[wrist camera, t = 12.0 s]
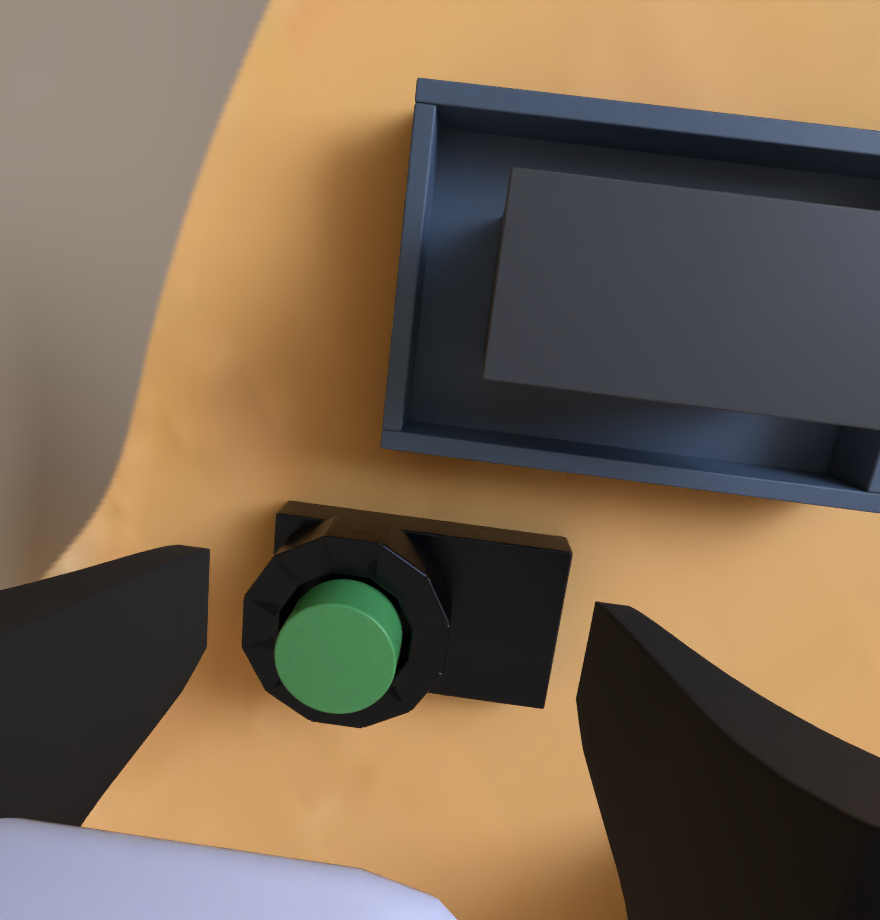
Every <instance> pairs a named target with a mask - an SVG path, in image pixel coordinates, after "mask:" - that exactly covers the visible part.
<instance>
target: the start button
mask: <svg viewBox="0 0 880 920" xmlns="http://www.w3.org/2000/svg"><path fill="white" fill-rule="evenodd" d="M401 643H402V625H401V621H400V618H399V615H398V613H397V611H396V609H395V607H394V606H393V604H392V603H391V602H390V600H389V599H388V598H387V597H386V596H385V595H384V594H382V593H381V592H380V591H379V590H377V589H375V588H374V587H372V586H370V585H368V584H366V583H363V582H360V581H355V580H348V579H337V580H331V581H327V582H323V583H321V584H318V585H316V586H314V587H313V588H311V589H310V590H308V591H307V592H306V593H305V594H304V595H303V596H302V597H301V598H300V599H299V601H298V602H297V604H296V605H295V607H294V609H293V610H292V612H291V614H290V615H289V617H288V619H287V620H286V622H285V623H284V625H283V627H282V628H281V630H280V632H279V634H278V636H277V640H276V643H275V649H274V659H275V665H276V669H277V673H278V675H279V677H280V679H281V681H282V683H283V684H284V686H285V687H286V689H287V690H288V691H289V692H290V693H291V694H292V695H293V696H294V697H295V698H296V699H298V700H299V701H300V702H302V703H303V704H305V705H307V706H309V707H311V708H313V709H315V710H319V711H322V712H326V713H334V714H346V713H352V712H356V711H360V710H362V709H365V708H367V707H369V706H370V705H372V704H374V703H375V702H376V701H377V700H379V699H380V698H381V697H382V696H383V695H384V694H385V693H386V691H387V690H388V688H389V687H390V685H391V683H392V681H393V678H394V675H395V671H396V666H397V662H398V657H399V653H400V648H401Z"/></svg>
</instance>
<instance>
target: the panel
mask: <svg viewBox="0 0 880 920" xmlns="http://www.w3.org/2000/svg"><path fill="white" fill-rule="evenodd" d="M572 555H573V554H572V551H571V548H570V546H569V544H568V541H567V539H566V538H565V537H559V536H552V535H544V534H537V533H529V532H522V531H514V530H506V529H499V528H491V527H484V526H476V525H469V524H461V523H454V522H446V521H439V520H431V519H424V518H416V517H409V516H401V515H394V514H386V513H379V512H371V511H364V510H356V509H349V508H341V507H333V506H326V505H318V504H311V503H303V502H296V501H288V502H287V503H286V504H285V505H284V506H283V507H282V508H281V509H280V510H279V511H278V512H277V514H276V522H275V539H274V556H273V557H272V559H271V560H270V561H269V563H268V564H267V565H266V567H265V568H264V570H263V571H262V572H261V574H260V575H259V576H258V578H257V579H256V580H255V582H254V583H253V584H252V586H251V587H250V589H249V590H248V591H247V593H246V594H245V597H244V604H243V625H242V649H243V651H244V652H245V654H246V656H247V658H248V660H249V662H250V663H251V665H252V667H253V669H254V671H255V673H256V675H257V676H258V678H259V680H260V682H261V684H262V686H263V687H264V689H265V691H267V692H268V693H269V694H271V695H272V696H274V697H275V698H277V699H278V700H280V701H281V702H283V703H284V704H285V705H287V706H288V707H290V708H291V709H293V710H294V711H296V712H297V713H299V714H300V715H302V716H303V717H305V718H306V719H308V720H311V721H312V722H319V723H326V724H333V725H340V726H348V727H355V728H362V727H367V726H370V725H373V724H376V723H379V722H382V721H385V720H388V719H390V718H393V717H396V716H399V715H402V714H405V713H408V712H409V711H410V710H413V709H414V707H415V706H416V705H417V704H418V703H419V702H420V701H421V699H422V698H423V697H424V696H425V695H426V694H427V693H432V694H440V695H447V696H454V697H461V698H468V699H475V700H483V701H490V702H497V703H504V704H511V705H518V706H525V707H533V708H540V709H543V708H544V706H545V700H546V695H547V690H548V684H549V679H550V673H551V668H552V663H553V657H554V652H555V646H556V641H557V636H558V630H559V625H560V620H561V614H562V609H563V603H564V598H565V593H566V587H567V582H568V576H569V571H570V566H571V560H572ZM337 579H348V580H355V581H360V582H363V583H366V584H368V585H370V586H372V587H374V588H375V589H377V590H379V591H380V592H381V593H382V594H384V595H385V596H386V597H387V598H388V599H389V600H390V602H391V603H392V604H393V606H394V607H395V609H396V611H397V613H398V615H399V618H400V621H401V625H402V643H401V648H400V653H399V657H398V662H397V666H396V671H395V675H394V678H393V681H392V683H391V685H390V687H389V688H388V690H387V691H386V693H385V694H384V695H383V696H382V697H381V698H380V699H379V700H377V701H376V702H375V703H374V704H372V705H370V706H369V707H367V708H365V709H362V710H360V711H356V712H352V713H346V714H334V713H326V712H322V711H319V710H315V709H313V708H311V707H309V706H307V705H305V704H303V703H302V702H300V701H299V700H298V699H296V698H295V697H294V696H293V695H292V694H291V693H290V692H289V691H288V690H287V689H286V687H285V686H284V684H283V683H282V681H281V679H280V677H279V675H278V673H277V669H276V665H275V659H274V649H275V643H276V640H277V636H278V634H279V632H280V630H281V628H282V627H283V625H284V623H285V622H286V620H287V619H288V617H289V615H290V614H291V612H292V610H293V609H294V607H295V605H296V604H297V602H298V601H299V599H300V598H301V597H302V596H303V595H304V594H305V593H306V592H307V591H308V590H310V589H311V588H313V587H314V586H316V585H318V584H321V583H323V582H327V581H331V580H337Z"/></svg>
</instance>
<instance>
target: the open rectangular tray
mask: <svg viewBox="0 0 880 920" xmlns="http://www.w3.org/2000/svg"><path fill="white" fill-rule="evenodd" d="M415 102H416V104H415V106H414V115H413V125H412V135H411V145H410V155H409V165H408V175H407V185H406V195H405V205H404V215H403V225H402V235H401V245H400V255H399V265H398V275H397V285H396V295H395V305H394V315H393V325H392V335H391V345H390V355H389V365H388V375H387V385H386V395H385V405H384V415H383V425H382V427H383V430H382V434H381V444H380V447H381V448H382V449H390V450H398V451H405V452H413V453H421V454H428V455H436V456H444V457H451V458H459V459H467V460H474V461H482V462H490V463H497V464H505V465H513V466H520V467H528V468H536V469H543V470H551V471H559V472H566V473H574V474H582V475H589V476H597V477H605V478H612V479H620V480H628V481H635V482H643V483H651V484H658V485H666V486H674V487H681V488H689V489H697V490H704V491H712V492H720V493H727V494H735V495H743V496H750V497H758V498H766V499H773V500H781V501H789V502H796V503H804V504H812V505H819V506H827V507H835V508H842V509H850V510H858V511H865V512H873V513H880V430H873V429H866V428H858V427H850V426H842V425H834V424H827V423H819V422H811V421H803V420H795V419H788V418H780V417H772V416H764V415H756V414H748V413H741V412H733V411H725V410H717V409H709V408H702V407H694V406H686V405H678V404H670V403H662V402H655V401H647V400H639V399H631V398H623V397H616V396H608V395H600V394H592V393H584V392H576V391H569V390H561V389H553V388H545V387H537V386H530V385H522V384H514V383H506V382H498V381H490V380H484V379H483V378H482V369H483V362H484V358H483V353H484V346H485V339H486V331H487V324H488V317H489V309H490V302H491V295H492V288H493V280H494V273H495V266H496V258H497V251H498V244H499V237H500V229H501V222H502V216H503V213H504V209H505V202H506V195H507V187H508V180H509V175H510V171H511V168H512V167H517V168H526V169H534V170H542V171H551V172H559V173H567V174H576V175H584V176H593V177H601V178H609V179H618V180H626V181H634V182H643V183H651V184H659V185H668V186H676V187H685V188H693V189H701V190H710V191H718V192H726V193H735V194H743V195H751V196H760V197H768V198H776V199H785V200H793V201H802V202H810V203H818V204H827V205H835V206H843V207H852V208H860V209H868V210H877V211H880V131H875V130H866V129H857V128H849V127H840V126H831V125H823V124H814V123H806V122H797V121H788V120H780V119H771V118H762V117H754V116H745V115H736V114H728V113H719V112H711V111H702V110H693V109H685V108H676V107H667V106H659V105H650V104H642V103H633V102H624V101H616V100H607V99H598V98H590V97H581V96H572V95H564V94H555V93H547V92H538V91H529V90H521V89H512V88H503V87H495V86H486V85H478V84H469V83H460V82H452V81H443V80H434V79H426V78H418V79H417V84H416V94H415Z"/></svg>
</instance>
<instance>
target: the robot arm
mask: <svg viewBox="0 0 880 920" xmlns="http://www.w3.org/2000/svg"><path fill="white" fill-rule="evenodd" d="M209 563H210V549H206V548H199V547H191V546H184V545H171V546H165V547H160V548H156V549H152V550H148V551H144V552H140V553H137V554H133V555H129V556H126V557H122V558H119V559H116V560H112V561H109V562H105V563H102V564H98V565H95V566H92V567H88V568H85V569H81V570H78V571H74V572H70V573H66V574H63V575H59V576H55V577H51V578H47V579H44V580H40V581H36V582H32V583H28V584H24V585H21V586H17V587H12V588H8V589H4V590H0V920H457V919H456V918H455V917H454V916H453V915H452V913H451V912H450V911H449V910H448V909H447V908H446V907H445V906H444V905H443V904H442V903H441V902H440V901H439V899H437V898H436V897H434V896H432V895H430V894H428V893H426V892H423V891H420V890H418V889H415V888H412V887H410V886H407V885H404V884H402V883H399V882H396V881H394V880H391V879H388V878H386V877H383V876H380V875H378V874H375V873H372V872H370V871H367V870H364V869H362V868H356V867H349V866H342V865H336V864H329V863H322V862H315V861H309V860H302V859H295V858H288V857H282V856H275V855H268V854H261V853H254V852H248V851H241V850H234V849H227V848H221V847H214V846H207V845H200V844H193V843H187V842H180V841H173V840H166V839H160V838H153V837H146V836H139V835H133V834H126V833H119V832H112V831H105V830H99V829H92V828H85V827H81V825H82V823H83V822H84V820H85V819H86V818H87V816H88V815H89V813H90V812H91V811H92V809H93V808H94V806H95V805H96V804H97V802H98V801H99V799H100V798H101V796H102V795H103V794H104V793H105V791H106V790H107V789H108V787H109V786H110V785H111V783H112V782H113V781H114V780H115V778H116V777H117V776H118V774H119V773H120V772H121V771H122V769H123V768H124V767H125V765H126V764H127V763H128V762H129V760H130V759H131V758H132V756H133V755H134V754H135V753H136V751H137V750H138V749H139V747H140V746H141V745H142V744H143V742H144V741H145V740H146V738H147V737H148V736H149V734H150V733H151V732H152V731H153V729H154V728H155V727H156V725H157V724H158V723H159V721H160V720H161V719H162V718H163V716H164V715H165V714H166V712H167V711H168V710H169V708H170V707H171V706H172V704H173V703H174V702H175V700H176V699H177V698H178V696H179V695H180V694H181V692H182V691H183V689H184V687H185V685H186V684H187V682H188V680H189V679H190V677H191V675H192V673H193V672H194V670H195V668H196V666H197V664H198V663H199V661H200V659H201V657H202V655H203V653H204V651H205V650H206V648H207V623H208V593H209ZM576 703H577V711H578V719H579V727H580V733H581V740H582V746H583V751H584V755H585V759H586V763H587V766H588V770H589V773H590V777H591V780H592V784H593V788H594V791H595V795H596V798H597V802H598V805H599V809H600V812H601V816H602V819H603V823H604V826H605V830H606V833H607V837H608V840H609V844H610V847H611V850H612V854H613V857H614V861H615V864H616V868H617V872H618V876H619V880H620V884H621V888H622V892H623V896H624V901H625V906H626V911H627V917H628V920H880V757H877V756H875V755H873V754H871V753H869V752H867V751H864V750H862V749H860V748H858V747H856V746H854V745H852V744H849V743H847V742H845V741H843V740H841V739H839V738H837V737H835V736H833V735H831V734H829V733H827V732H825V731H823V730H821V729H819V728H817V727H815V726H814V725H812V724H810V723H808V722H806V721H805V720H803V719H801V718H799V717H797V716H796V715H794V714H792V713H790V712H788V711H786V710H785V709H783V708H781V707H779V706H777V705H776V704H774V703H772V702H771V701H769V700H767V699H766V698H764V697H762V696H761V695H759V694H757V693H756V692H754V691H753V690H751V689H750V688H748V687H747V686H745V685H744V684H742V683H740V682H739V681H737V680H736V679H734V678H733V677H731V676H730V675H728V674H727V673H725V672H724V671H722V670H721V669H719V668H718V667H716V666H715V665H713V664H712V663H710V662H709V661H708V660H706V659H705V658H703V657H702V656H701V655H699V654H698V653H696V652H695V651H694V650H692V649H691V648H689V647H688V646H687V645H685V644H684V643H683V642H681V641H680V640H679V639H677V638H676V637H674V636H673V635H672V634H670V633H669V632H668V631H666V630H665V629H663V628H662V627H661V626H659V625H658V624H657V623H655V622H654V621H652V620H651V619H650V618H648V617H647V616H645V615H644V614H642V613H641V612H639V611H637V610H636V609H634V608H632V607H630V606H625V605H617V604H610V603H603V602H595V607H594V612H593V617H592V622H591V627H590V632H589V637H588V642H587V647H586V652H585V657H584V662H583V667H582V672H581V677H580V682H579V687H578V692H577V697H576Z"/></svg>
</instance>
